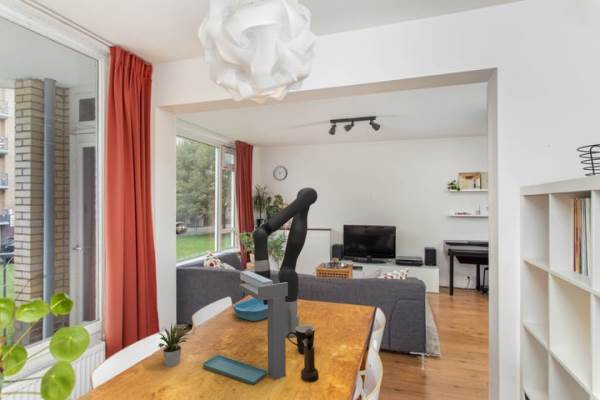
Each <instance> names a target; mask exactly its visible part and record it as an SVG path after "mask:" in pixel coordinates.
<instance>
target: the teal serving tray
mask: <svg viewBox="0 0 600 400" xmlns="http://www.w3.org/2000/svg"><path fill="white" fill-rule="evenodd" d="M202 366H203V368H205V369H206V370H209V371H212V372H215V373H217V374H220V375H224V376H226V377H229V378H230V379H231V378H233V379H234V380H238V381H240V382H242V383H243V382H244V383H246V384H250V385H251V386H253V385H255V384H257V383H258V382H259V381H261V380H262V379H263V378H264V377H266V376H267V375H268V369H263V368H260V367H257V366H254V365H252V364H248V363H247V362H246V363H245V362H243V361H239V360H236V359H233V358H230V357H228V356H224V355H221V354H216V355H215V356H213V357H211V358H209V359H207V360H206V361H204V362H202Z"/></svg>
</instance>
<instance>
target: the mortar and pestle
mask: <svg viewBox="0 0 600 400" xmlns="http://www.w3.org/2000/svg"><path fill="white" fill-rule="evenodd" d="M305 335H306V337H307V341H306V344H307V346H305V347H304V355H303V360H304V362H303V363H304V364H303V368H302V369H301V370H300V379H301V380H302V381H303V382H305V383H306V382H307V383H313V382H316V381H317V380H318V379H319V370H318V369H317V368H316V367H315V365H316V364H315V361H316V360H315V347H314V345H313V346H311V345H312V341H311V338H312V336H313V331H312V330H311V329H307V330H306V331H305Z"/></svg>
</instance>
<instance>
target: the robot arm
mask: <svg viewBox="0 0 600 400" xmlns="http://www.w3.org/2000/svg"><path fill="white" fill-rule="evenodd" d="M318 196H319V195H318V192H317V191H316V189H315V188H314V187H313V188H312V187H304V188H301V189H300V190H299V191H298V192H297V195H296V198H295V199H294V200H293V201H292V202H291V203H289V204H288V205H286V206H285V207H282V209H281V210H279V211H277V212H276V213H275V214H274V215H272V216H271V217H269V219H268V220H267V221H265V222H264V223H262V225H260V226H258V227H257V228H256V229H254V230H253V232H252V235H251V236H252V237H251V238H252V239H253V248H254V250H253V257H254V258H253V259H254V263H253V265H254V273H255V274H258V275H260V276H262V277H265V278H267V279H269V280H271V277H272V275H271V266H270V259H269V258H270V257H269V249H268V248H269V247H268V246H269V245H268V243H269V241H268V240H269V236H271V235H272V234H273V233H275V232H277V231H279V230H280V229H281V228H282V227H284V225H286V224H287V223H288V222H289V221H290V220H291V223H290V227H289V229H288V235H287V240H286V245H285V250H284V255H283V259H282V262H281V264H280V268H279V271H278V274H277V279H278V281H279V283H284V282H287V283H288V296H285V338H287V335H288V333H290V332H294V333H296V327H298V326H300V318H299V316H300V315H298V295H299V275H298V273H297V271H296V269H297V268H296V267H297V262H298V259H299V256H300V254H301V252H302V251H303V248H304V245H305V244H306V240H307V235H308V216H309V211H310V209H311V206H312V205H314V204H316V202H317V199H318ZM263 304H264V305H267V304H268V300H263ZM294 337H296V336H295V334H293V333H291V334H289V336H288V338H294Z"/></svg>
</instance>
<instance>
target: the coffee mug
mask: <svg viewBox="0 0 600 400" xmlns="http://www.w3.org/2000/svg"><path fill="white" fill-rule="evenodd" d="M307 329H311V330H312V331H313V336H312V338H311V341H312V345H311V346H313V347H314V344H315V343H314V340H315V333H316V332H315V331H316V327H314V326H313V325H308V324H303V325H299V326H298V327H296V333H294V332H290V333H288V335H287V337H286V338H287V340H288V341H289V342H290V343H292V344H293V345H294V346H296V348H297V351H298V353H299V354H300V355H303V356H304V347H305V346H307V344H306V341H307V337H306V335H305V331H306V330H307ZM291 333H293V334H295V336H294V337H296V342H294V341H292V340H291V338H290V337H288V336H289V334H291Z"/></svg>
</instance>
